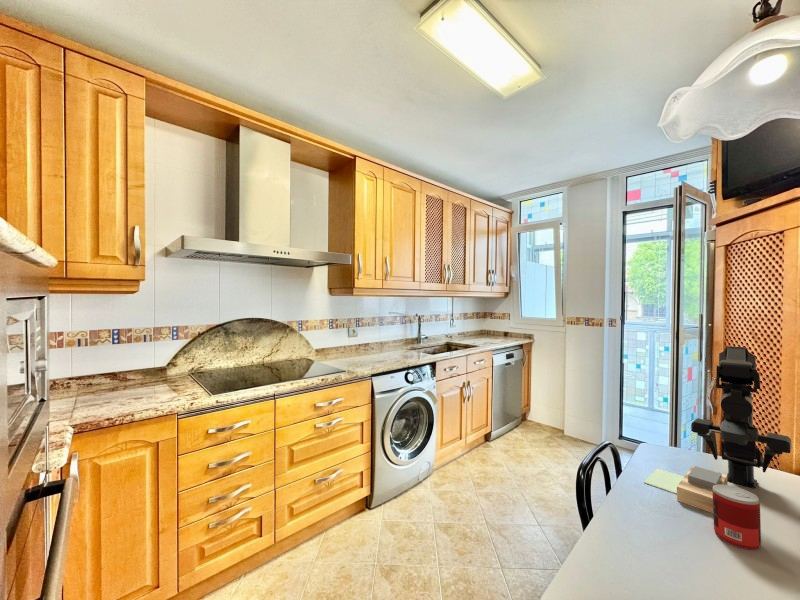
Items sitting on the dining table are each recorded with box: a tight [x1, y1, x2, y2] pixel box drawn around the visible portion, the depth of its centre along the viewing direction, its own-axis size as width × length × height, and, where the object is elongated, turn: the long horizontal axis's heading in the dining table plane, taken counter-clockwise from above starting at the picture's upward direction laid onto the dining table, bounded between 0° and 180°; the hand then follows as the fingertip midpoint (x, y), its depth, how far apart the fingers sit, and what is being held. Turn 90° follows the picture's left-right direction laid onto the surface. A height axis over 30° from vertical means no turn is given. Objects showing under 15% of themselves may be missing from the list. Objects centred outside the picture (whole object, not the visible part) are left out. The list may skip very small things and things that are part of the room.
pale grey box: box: [688, 465, 723, 490], centre depth 97 cm, size 9×6×2 cm, turn 128°
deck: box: [676, 465, 728, 514], centre depth 98 cm, size 20×8×4 cm, turn 128°
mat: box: [643, 468, 685, 495], centre depth 105 cm, size 14×9×1 cm, turn 128°
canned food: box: [712, 484, 762, 551], centre depth 79 cm, size 8×8×11 cm
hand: (739, 465), depth 90 cm, fingers open, 9 cm apart
